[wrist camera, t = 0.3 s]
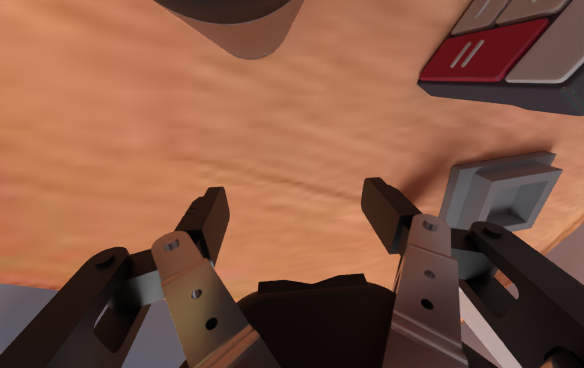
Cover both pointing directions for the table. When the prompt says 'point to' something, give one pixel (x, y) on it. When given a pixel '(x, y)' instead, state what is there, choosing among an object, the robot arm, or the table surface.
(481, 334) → the milk carton
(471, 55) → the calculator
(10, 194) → the table surface
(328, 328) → the robot arm
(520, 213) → the roll holder
